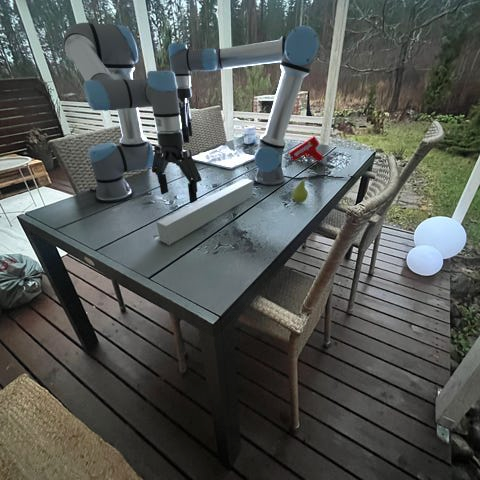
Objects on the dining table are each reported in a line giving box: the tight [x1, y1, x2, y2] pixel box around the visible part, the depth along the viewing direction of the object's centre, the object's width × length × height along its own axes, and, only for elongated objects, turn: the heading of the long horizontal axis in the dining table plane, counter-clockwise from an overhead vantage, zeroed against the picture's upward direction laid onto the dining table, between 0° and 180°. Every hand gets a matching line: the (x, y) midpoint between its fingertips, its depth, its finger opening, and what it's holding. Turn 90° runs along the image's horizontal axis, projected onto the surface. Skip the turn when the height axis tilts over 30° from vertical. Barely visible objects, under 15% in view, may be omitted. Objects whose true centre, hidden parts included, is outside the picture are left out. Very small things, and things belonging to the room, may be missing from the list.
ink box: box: [243, 125, 257, 145], centre depth 212 cm, size 8×5×12 cm, turn 135°
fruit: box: [291, 174, 311, 204], centre depth 118 cm, size 7×8×12 cm
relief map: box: [192, 144, 255, 170], centre depth 177 cm, size 27×35×5 cm
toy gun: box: [288, 135, 324, 163], centre depth 171 cm, size 18×4×15 cm
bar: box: [156, 178, 254, 246], centre depth 110 cm, size 51×5×8 cm, turn 144°
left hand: (178, 197), depth 92 cm, fingers open, 13 cm apart
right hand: (188, 139), depth 128 cm, fingers open, 13 cm apart
